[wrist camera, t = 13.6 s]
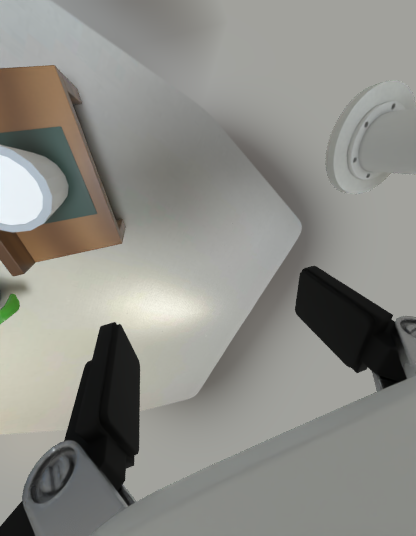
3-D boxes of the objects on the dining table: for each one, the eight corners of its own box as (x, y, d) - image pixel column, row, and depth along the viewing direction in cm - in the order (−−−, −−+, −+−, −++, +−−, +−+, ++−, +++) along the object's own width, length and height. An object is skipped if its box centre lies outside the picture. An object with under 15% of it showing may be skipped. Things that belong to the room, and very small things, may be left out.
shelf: (76, 88, 25) (40, 50, 16) (125, 227, 34) (120, 252, 25) (-38, 97, 22) (-153, 59, 14) (48, 243, 32) (12, 276, 23)
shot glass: (-21, 174, 20) (-87, 182, 14) (27, 128, 20) (-22, 117, 14) (47, 225, 24) (16, 247, 18) (88, 187, 23) (71, 198, 17)
